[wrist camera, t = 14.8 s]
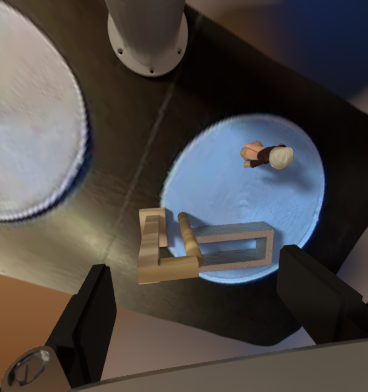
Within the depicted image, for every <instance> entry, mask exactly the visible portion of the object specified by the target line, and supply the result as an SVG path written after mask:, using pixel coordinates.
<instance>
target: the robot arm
mask: <svg viewBox="0 0 368 392" xmlns="http://www.w3.org/2000/svg"><path fill="white" fill-rule="evenodd" d="M105 2H106V5H107V7H108V10H109V17H108V33H109V38H110V41H111V44H112V47H113V49H114V51H115V53H116V55H117V56H118V58H119V59H120V61H121V62H122V63H123V64H124V65H125V66H126V67H127V68H128V69H130V70H131V71H132V72H134V73H136V74H138V75H141V76H145V77H159V76H163V75H165V74H167V73H169V72H170V71H172V70H173V69H174V68H175V67H176V66H177V65H178V64H179V62H180V61H181V59H182V58H183V55H184V53H185V50H186V46H187V40H188V26H187V21H186V17H185V15H184V12H183V10H184V5H185V0H105ZM120 52H123V54H120ZM178 52H180V53H181V54H178ZM151 71H153V73H151ZM277 293H278V295H279V296H280V298H281V299H282V300H283V302H284V303H285V304H286V306H287V307H288V308H289V309H290V311H291V312H292V313H293V315H294V316H295V317H296V319H297V320H298V321H299V322H300V324H301V325H302V326H303V328H304V329H305V330H306V332H307V333H308V334H309V335H310V337H311V338H312V339H313V341H314V342H315V343H316V345H312V346H306V347H300V348H293V349H286V350H280V351H273V352H266V353H260V354H253V355H248V356H241V357H234V358H228V359H222V360H216V361H209V362H203V363H198V364H191V365H185V366H179V367H173V368H166V369H160V370H154V371H149V372H143V373H138V374H132V375H127V376H121V377H116V378H110V379H106V380H102V381H100V379H101V376H102V372H103V368H104V364H105V360H106V356H107V351H108V347H109V343H110V339H111V335H112V331H113V327H114V323H115V319H116V312H117V309H116V302H115V296H114V290H113V284H112V278H111V272H110V267H109V266H107V267H106V265H105V264H98V265H93V266H92V268H91V270H90V271H89V273H88V275H87V277H86V279H85V281H84V283H83V284H82V286H81V288H80V290H79V292H78V294H75V295H73V296H72V297H71V299H70V301H69V303H68V304H67V306H66V308H65V310H64V312H63V314H62V315H61V317H60V319H59V320H58V322H57V324H56V326H55V327H54V329H53V331H52V333H51V335H50V336H49V338H48V340H47V342H46V343H45V345H44V346H39V347H36V348H33V349H31V350H29V351H27V352H25V353H24V354H23V355H21V356H20V357H18V358H17V359H16V360H15V361H14V362H13V363H12V364H11V365H10V366H9V368H8V369H7V370H6V371H5V373H4V376H3V378H2V380H1V388H0V392H368V302H367V303H366V304H365V303H364V302H363V301H362V298H363V296H362V295H361V294H360V293H358V292H357V291H356V290H354V289H353V288H352V287H350V286H349V285H348V284H346V283H345V282H344V281H342V280H341V279H340V278H338V277H337V276H336V275H335V274H333V273H332V272H331V271H329V270H328V269H327V268H326V267H324V266H323V265H322V264H320V263H319V262H318V261H316V260H315V259H314V258H312V257H311V256H310V255H308V254H307V253H306V252H305V251H303V250H302V249H301V248H299V247H298V246H297V245H295V244H293V245H284V246H283V248H282V249H281V250H280V258H279V269H278V279H277Z"/></svg>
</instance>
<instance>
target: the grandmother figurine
mask: <svg viewBox="0 0 368 392" xmlns="http://www.w3.org/2000/svg"><path fill="white" fill-rule="evenodd" d="M240 153H241V156H242V157H243V158H244V160H245V161H249V160H252V161H249V162H244V164H243V165H244V167H251V168H254V167H256V166H259V165H261V164H267V163H270V164H271V167H274V168H276V169H282V168H285V167H287V166H288V165H289V164H291V163H292V161H293V158H294V152H293V149H292V148H290V147H286V146H285V145H284V144H279V146H272V147H267V148H264V147H262V145H261V143H260V142H259V141H256V142H254V143H253V144H251V143H248V144H246V145H245V148H243V149H242V150H241V152H240Z"/></svg>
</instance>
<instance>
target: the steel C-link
mask: <svg viewBox="0 0 368 392" xmlns="http://www.w3.org/2000/svg"><path fill="white" fill-rule="evenodd" d="M192 230H193V232H194V235H195V238H196V240H197V243H208V242H218V241H229V240H239V239H249V238H256V248H255V249H245V250H235V251H226V252H216V253H206V254H202V257H203V259H204V264H203V265H202V267H200V268H199V273H200V272H209V271H218V270H227V269H236V268H245V267H254V266H263V265H271V262H272V250H273V238H274V229H273V228H271V227H270V226H269V225H267V224H266V223H265V222H264V221H260V222H249V223H238V224H226V225H215V226H204V227H193V228H192Z"/></svg>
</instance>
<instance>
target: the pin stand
mask: <svg viewBox="0 0 368 392" xmlns="http://www.w3.org/2000/svg"><path fill="white" fill-rule="evenodd" d="M139 215H140V224H141V234H142V242H141V247H140V253H139V259H138V264H137V272H138V281H139V284H147V283H156V282H159V281H166V280H175V279H184V278H192V277H199V268H200V267H202V265H203V264H204V259H203V257H202V254H201V251H200V248H199V246H198V243H197V240H196V238H195V235H194V232H193V230H192V227H191V224H190V221H189V219H188V216H187V214H186V213H185V212H181V213H179V214H178V221H179V225H180V229H181V234H182V238H183V242H184V246H185V251H186V255H187V256H183V257H173V258H164V259H159V247H165V246H167V233H166V219H165V208H152V209H140V211H139Z"/></svg>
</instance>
